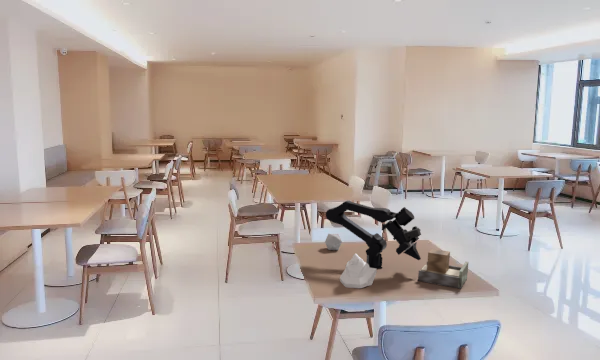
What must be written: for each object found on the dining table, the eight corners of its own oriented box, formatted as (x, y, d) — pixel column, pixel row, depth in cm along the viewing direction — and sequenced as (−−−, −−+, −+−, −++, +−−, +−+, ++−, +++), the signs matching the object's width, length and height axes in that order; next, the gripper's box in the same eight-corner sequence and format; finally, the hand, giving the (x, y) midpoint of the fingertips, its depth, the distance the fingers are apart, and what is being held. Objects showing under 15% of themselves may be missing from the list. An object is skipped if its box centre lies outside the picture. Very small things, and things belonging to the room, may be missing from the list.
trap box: (418, 280, 211) (419, 264, 210) (426, 270, 225) (427, 255, 224) (460, 288, 203) (462, 271, 202) (467, 278, 217) (468, 261, 216)
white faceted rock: (373, 294, 198) (371, 263, 193) (337, 292, 202) (334, 262, 197) (377, 277, 209) (375, 248, 204) (342, 275, 213) (339, 247, 208)
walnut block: (426, 270, 213) (428, 252, 212) (430, 265, 220) (431, 248, 218) (445, 273, 210) (446, 255, 209) (448, 269, 216) (450, 251, 215)
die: (336, 254, 249) (346, 237, 251) (321, 244, 250) (332, 228, 252) (334, 255, 258) (344, 239, 260) (320, 245, 259) (330, 230, 261)
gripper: (405, 225, 210) (428, 254, 206) (416, 217, 226) (438, 244, 223) (386, 240, 214) (409, 268, 211) (398, 232, 231) (419, 258, 227)
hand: (419, 259), depth 218 cm, fingers closed
